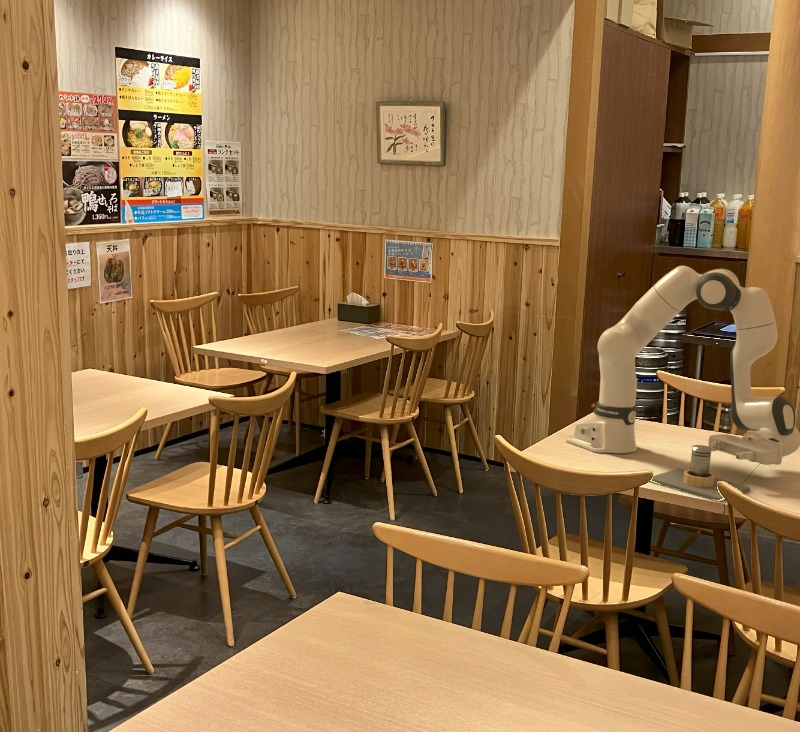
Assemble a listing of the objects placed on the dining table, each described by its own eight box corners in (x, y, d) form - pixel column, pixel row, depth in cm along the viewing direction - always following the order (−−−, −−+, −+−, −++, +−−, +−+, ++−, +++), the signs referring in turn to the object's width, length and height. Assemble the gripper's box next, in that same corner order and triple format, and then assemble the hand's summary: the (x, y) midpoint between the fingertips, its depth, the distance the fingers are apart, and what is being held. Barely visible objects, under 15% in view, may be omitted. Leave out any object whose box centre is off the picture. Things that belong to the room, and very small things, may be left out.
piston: (685, 481, 266) (688, 446, 264) (695, 478, 269) (698, 443, 267) (701, 486, 262) (705, 450, 260) (711, 483, 266) (715, 447, 264)
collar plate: (647, 481, 269) (648, 469, 268) (678, 471, 279) (679, 459, 279) (719, 502, 253) (720, 489, 252) (749, 490, 263) (751, 478, 263)
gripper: (728, 427, 285) (695, 432, 277) (788, 443, 268) (755, 449, 260) (726, 447, 286) (693, 453, 278) (785, 465, 269) (753, 472, 261)
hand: (724, 451), depth 269 cm, fingers open, 8 cm apart
